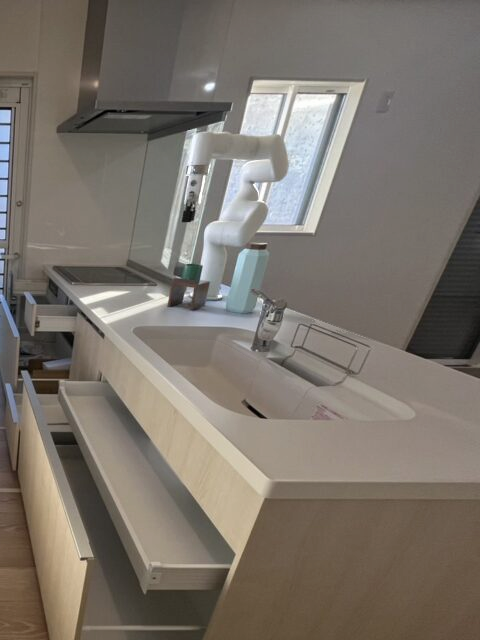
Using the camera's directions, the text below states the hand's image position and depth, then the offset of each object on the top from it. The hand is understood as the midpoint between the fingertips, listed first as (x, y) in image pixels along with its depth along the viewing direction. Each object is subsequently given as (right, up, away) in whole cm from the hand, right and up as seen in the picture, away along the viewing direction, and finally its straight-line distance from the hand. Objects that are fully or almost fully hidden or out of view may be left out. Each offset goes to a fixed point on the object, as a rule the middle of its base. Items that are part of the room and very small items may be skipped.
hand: (187, 221), depth 157 cm
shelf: (+5, -30, +11) cm, 33 cm away
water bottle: (+22, -34, +3) cm, 41 cm away
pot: (+4, -21, +6) cm, 23 cm away
